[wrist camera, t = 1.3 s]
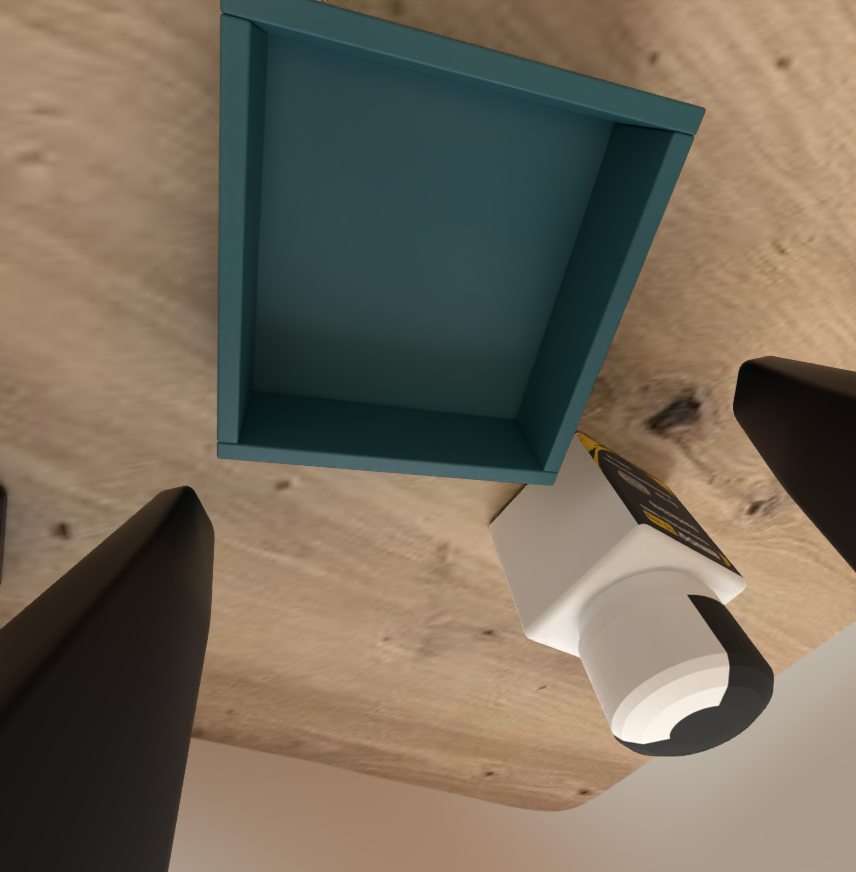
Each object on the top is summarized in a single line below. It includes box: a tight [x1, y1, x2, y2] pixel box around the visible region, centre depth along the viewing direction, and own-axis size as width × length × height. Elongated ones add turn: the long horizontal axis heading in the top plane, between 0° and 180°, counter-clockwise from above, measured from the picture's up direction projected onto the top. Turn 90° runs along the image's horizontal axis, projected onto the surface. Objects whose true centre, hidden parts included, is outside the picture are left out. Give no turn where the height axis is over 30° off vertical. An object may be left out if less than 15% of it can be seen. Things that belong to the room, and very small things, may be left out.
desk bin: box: [217, 0, 706, 486], centre depth 19 cm, size 13×13×4 cm
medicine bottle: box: [489, 433, 774, 756], centre depth 24 cm, size 7×7×12 cm
